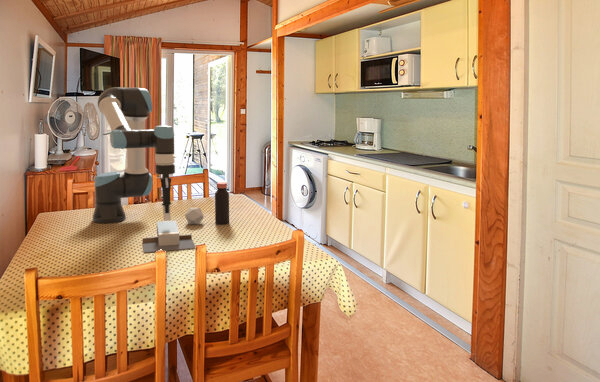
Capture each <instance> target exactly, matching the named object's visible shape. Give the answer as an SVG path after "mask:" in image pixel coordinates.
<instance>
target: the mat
mask: <svg viewBox="0 0 600 382" xmlns="http://www.w3.org/2000/svg"><path fill="white" fill-rule="evenodd" d="M195 246H196V244H195V243H194V241H193V239H180V240H179V244H177V245H165V246H159V242H158V241H154V242H143V241H142V248H143V254H149V253H150V254H151V253H156V252H155V251H158V250H160V249H162V250H165V251H164V252H173V251H175V250H176V251H186V250H185V249H187V250H195V249H194V248H195Z"/></svg>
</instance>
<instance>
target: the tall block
mask: <svg viewBox="0 0 600 382" xmlns="http://www.w3.org/2000/svg"><path fill="white" fill-rule="evenodd" d="M156 235H157V236H156V237H158V242H159V246H165V245H177V244H179V235H180V232H179V227H178V222H177V220H168V221H164V220H163V221H156Z"/></svg>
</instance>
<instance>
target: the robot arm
mask: <svg viewBox="0 0 600 382" xmlns="http://www.w3.org/2000/svg"><path fill="white" fill-rule="evenodd" d="M97 108H98V110H99V112H100V113H101V114H102V115H104V117H105V119H106V121H107V123H108V125H109V128H110V130H111V131H110V134H109V142H110V146H111V148H113V149H119V150H124V149H126V168H125V169H124V170H123V174H121V173H120V172H119V171H108V172H103V173H99V174H97V175H96V176H95V177H94V182H93V183H94V185H93V187H94V196H95V199H94V200H95V207H94V210H93V213H92V222H93V223H98V224H112V223H119V222H123V221H125V220H126V218H127V216H126V212H125V209H124V207H123V204H122V199H124V198H125V199H126V198H137V197H138V198H139V197H140V198H141V197H145V196H146V197H147V196H149V195H150V194H151V193H152V190H153V184H154V183H153V176H152V174H151V173H150V172H149V169H148V168H147V167H146V149H149V148H150V149H151V148H152V149H153V148H154V152H155V153H154V155H155V156H154V157H155V158H154V159H155V160H154V161H155V173H156V175H162V176H161V177H160V182H161V183H160V186H161V191H162V193H161V194H162V203H161V206H162V209H163V211H162V212H163V221H172V219H171V205H172V202H171V188H172V187H171V184H172V178H171V177H170V175H174V174H175V173H176V165H175V159H176V158H177V156H176V155H175V132H174V127H173V126H171V125H156V126H154V128H151V129H146V120H147V119H148V118H149V114H150V113H152V112H153V100H152V96H151V93H150V92H149V90H148V89H146V88H144V87H143V88H141V87H121V86H119V87H117V86H114V87H109V88H107V89H104V91H102V92H101V94H100V95H99V96H98V99H97Z"/></svg>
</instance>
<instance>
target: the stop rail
mask: <svg viewBox="0 0 600 382" xmlns="http://www.w3.org/2000/svg"><path fill="white" fill-rule="evenodd" d="M192 237H193V236H192V234H191V233H190V234H179V240H180V239H192ZM192 240H193V239H192ZM154 241H158V236H152V237H151V236H150V237H142V243H143V242H154Z"/></svg>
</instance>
